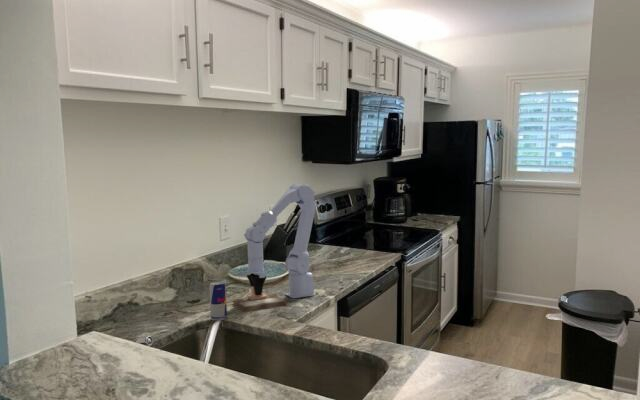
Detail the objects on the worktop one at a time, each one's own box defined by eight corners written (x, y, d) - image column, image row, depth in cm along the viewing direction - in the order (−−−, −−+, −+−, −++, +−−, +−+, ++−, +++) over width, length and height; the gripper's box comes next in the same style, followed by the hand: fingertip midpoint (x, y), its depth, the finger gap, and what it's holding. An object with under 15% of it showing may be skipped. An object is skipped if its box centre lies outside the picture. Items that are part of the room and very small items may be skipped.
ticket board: (273, 297, 192) (272, 293, 192) (286, 305, 179) (286, 300, 179) (233, 303, 185) (232, 298, 185) (244, 311, 172) (243, 306, 172)
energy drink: (223, 321, 161) (221, 284, 161) (208, 320, 162) (206, 284, 162) (229, 316, 166) (228, 281, 166) (214, 316, 167) (213, 281, 167)
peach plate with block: (262, 295, 189) (262, 284, 189) (267, 298, 184) (266, 286, 184) (247, 297, 186) (247, 286, 186) (251, 300, 182) (251, 288, 181)
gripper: (239, 256, 189) (241, 291, 190) (251, 261, 176) (252, 299, 177) (257, 255, 193) (258, 289, 193) (269, 259, 180) (271, 296, 180)
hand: (257, 294), depth 185 cm, fingers closed on peach plate with block, 3 cm apart
